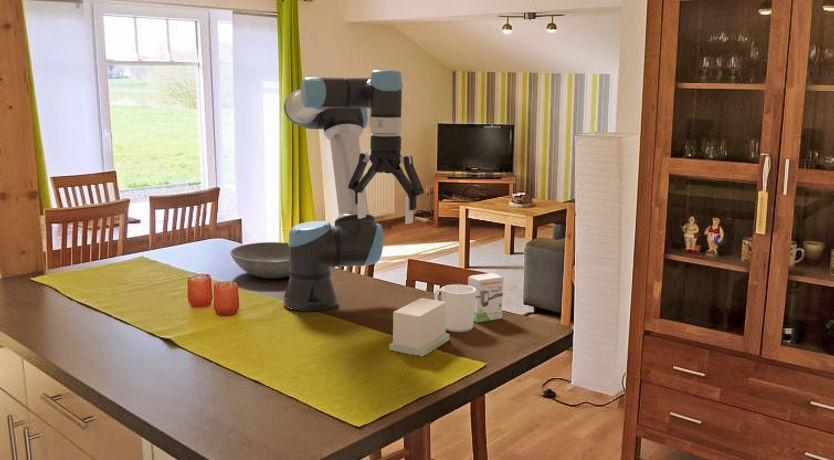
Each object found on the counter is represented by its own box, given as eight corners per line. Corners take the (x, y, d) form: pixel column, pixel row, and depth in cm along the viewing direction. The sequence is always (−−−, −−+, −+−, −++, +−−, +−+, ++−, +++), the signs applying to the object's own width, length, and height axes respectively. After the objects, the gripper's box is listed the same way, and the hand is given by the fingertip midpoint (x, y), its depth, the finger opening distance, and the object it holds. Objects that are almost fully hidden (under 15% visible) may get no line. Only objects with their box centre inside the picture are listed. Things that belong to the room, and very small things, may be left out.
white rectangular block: (419, 349, 183) (419, 316, 181) (393, 344, 186) (393, 311, 184) (445, 333, 195) (446, 301, 193) (420, 328, 198) (420, 297, 196)
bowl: (216, 283, 245) (215, 257, 243) (250, 263, 272) (249, 239, 270) (301, 288, 240) (300, 262, 239) (326, 267, 268) (326, 243, 266)
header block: (389, 350, 187) (389, 323, 185) (417, 333, 199) (417, 309, 197) (423, 356, 182) (423, 329, 181) (449, 339, 195) (449, 314, 193)
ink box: (476, 323, 208) (478, 280, 206) (466, 318, 213) (467, 276, 210) (502, 318, 213) (504, 276, 211) (491, 313, 217) (493, 272, 215)
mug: (478, 324, 207) (479, 286, 205) (469, 334, 199) (470, 295, 197) (438, 319, 211) (439, 282, 209) (428, 329, 202) (429, 290, 201)
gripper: (334, 133, 194) (334, 217, 198) (424, 138, 182) (422, 227, 187) (350, 131, 200) (350, 213, 204) (438, 136, 189) (436, 223, 193)
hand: (385, 220), depth 195 cm, fingers open, 13 cm apart
